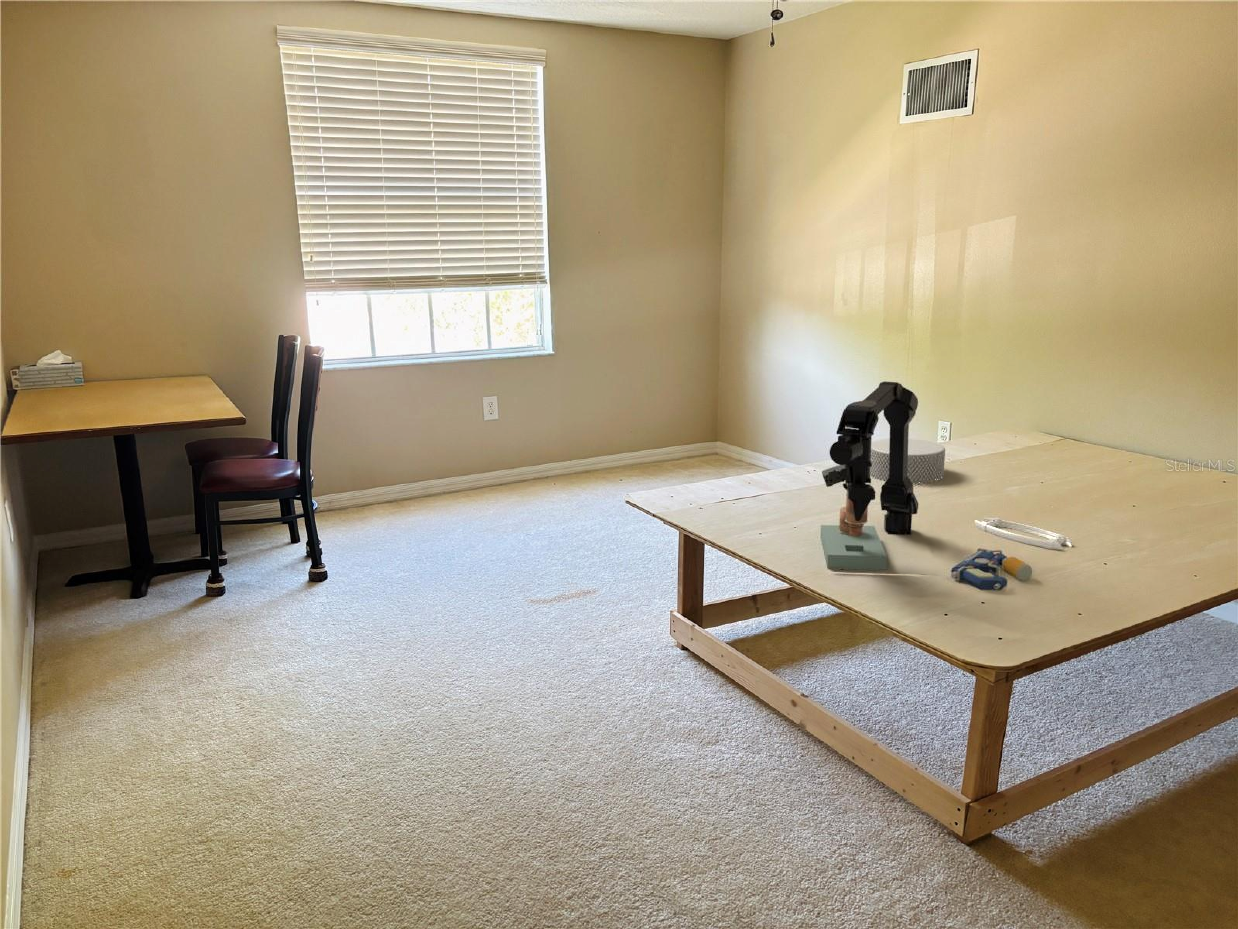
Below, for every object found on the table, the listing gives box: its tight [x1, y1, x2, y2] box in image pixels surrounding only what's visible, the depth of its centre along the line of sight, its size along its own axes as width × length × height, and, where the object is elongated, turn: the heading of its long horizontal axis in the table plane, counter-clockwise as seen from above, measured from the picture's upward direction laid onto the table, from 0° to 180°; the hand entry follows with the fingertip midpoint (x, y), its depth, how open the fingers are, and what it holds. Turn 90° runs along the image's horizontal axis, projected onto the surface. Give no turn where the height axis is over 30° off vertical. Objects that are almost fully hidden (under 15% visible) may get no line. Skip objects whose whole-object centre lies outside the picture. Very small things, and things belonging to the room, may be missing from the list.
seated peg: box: [838, 506, 850, 535], centre depth 221 cm, size 5×5×10 cm
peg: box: [845, 496, 869, 537], centre depth 207 cm, size 5×5×10 cm
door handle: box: [974, 516, 1073, 551], centre depth 225 cm, size 3×10×25 cm
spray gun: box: [950, 547, 1033, 591], centre depth 199 cm, size 21×4×15 cm
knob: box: [870, 438, 946, 484], centre depth 288 cm, size 25×10×25 cm
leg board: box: [820, 524, 888, 571], centre depth 215 cm, size 14×23×4 cm, turn 171°
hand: (856, 517), depth 207 cm, fingers closed on peg, 5 cm apart
